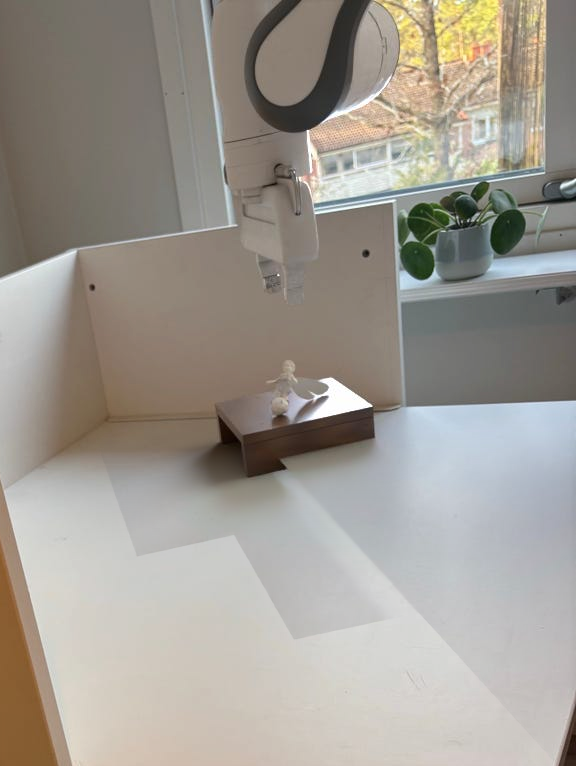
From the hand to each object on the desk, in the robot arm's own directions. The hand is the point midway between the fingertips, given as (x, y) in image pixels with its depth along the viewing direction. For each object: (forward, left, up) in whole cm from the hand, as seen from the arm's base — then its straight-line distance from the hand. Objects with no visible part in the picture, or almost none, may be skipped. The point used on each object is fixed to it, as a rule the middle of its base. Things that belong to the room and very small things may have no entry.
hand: (283, 298), depth 108 cm
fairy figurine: (0, 0, -12) cm, 12 cm away
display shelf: (+1, 0, -17) cm, 17 cm away
